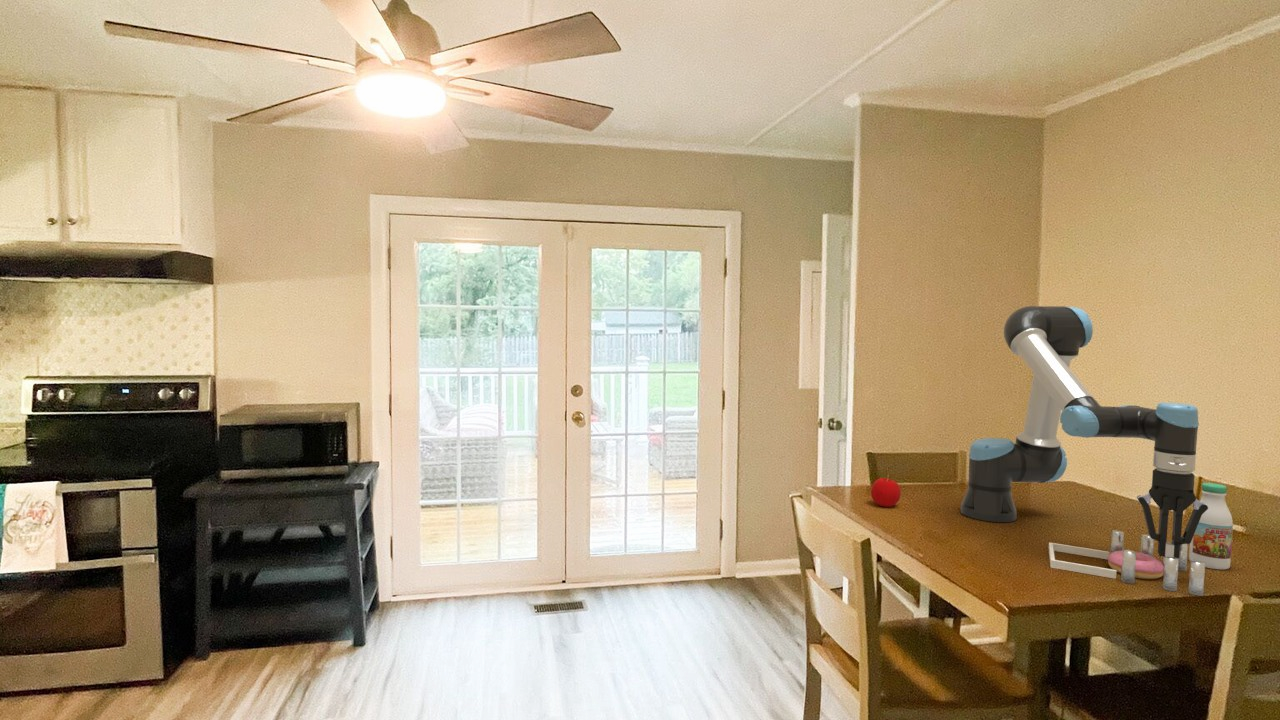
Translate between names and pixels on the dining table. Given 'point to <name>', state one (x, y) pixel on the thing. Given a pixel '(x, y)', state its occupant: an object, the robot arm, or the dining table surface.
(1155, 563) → the doughnut
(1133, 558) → the spacers
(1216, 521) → the milk bottle
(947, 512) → the dining table surface
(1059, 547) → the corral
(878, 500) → the fruit
